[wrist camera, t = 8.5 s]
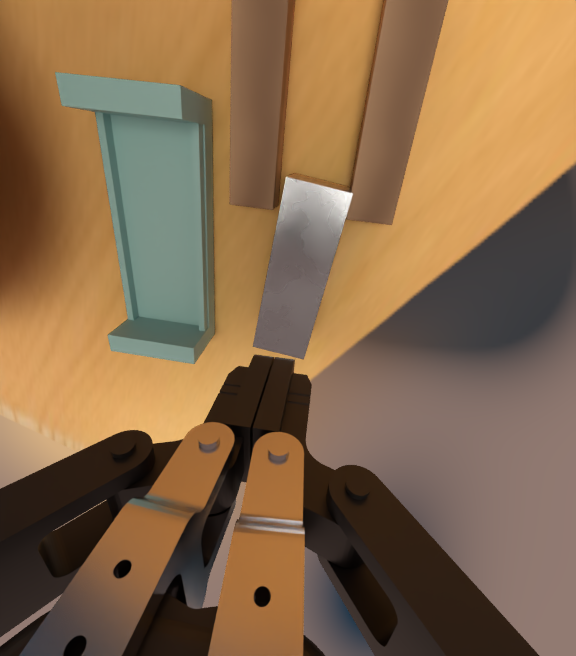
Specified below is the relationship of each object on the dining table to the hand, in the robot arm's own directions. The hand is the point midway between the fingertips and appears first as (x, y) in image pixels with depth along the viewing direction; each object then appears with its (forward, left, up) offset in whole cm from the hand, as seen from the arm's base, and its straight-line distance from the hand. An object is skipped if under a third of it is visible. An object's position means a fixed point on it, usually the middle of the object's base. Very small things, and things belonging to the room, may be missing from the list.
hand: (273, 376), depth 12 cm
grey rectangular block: (0, 0, -16) cm, 16 cm away
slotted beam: (0, +10, -15) cm, 18 cm away
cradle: (-11, +1, -15) cm, 19 cm away
